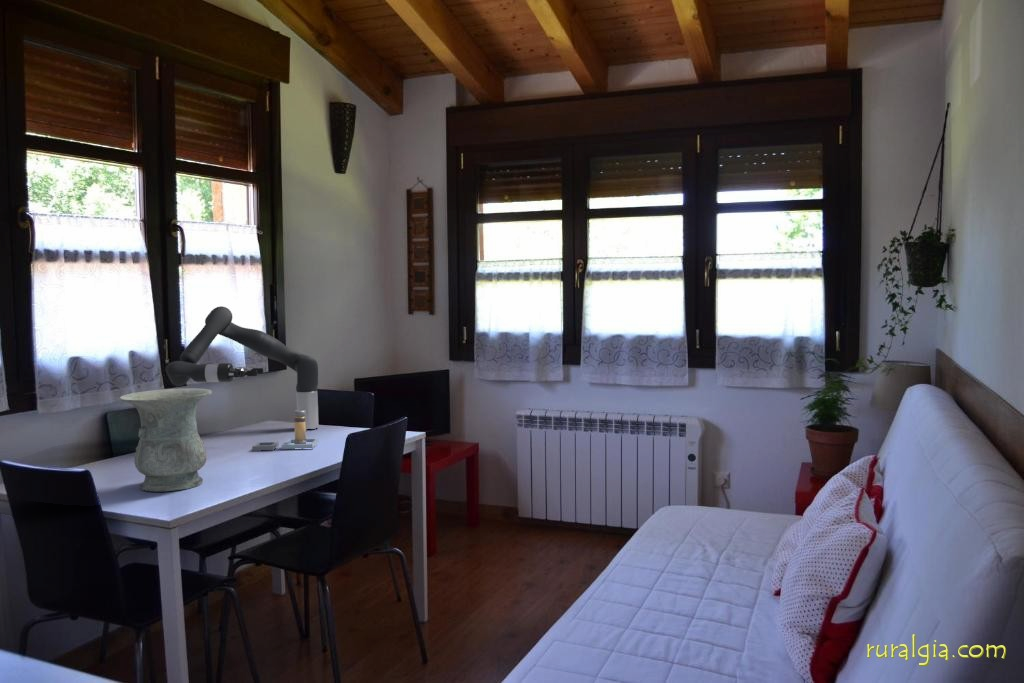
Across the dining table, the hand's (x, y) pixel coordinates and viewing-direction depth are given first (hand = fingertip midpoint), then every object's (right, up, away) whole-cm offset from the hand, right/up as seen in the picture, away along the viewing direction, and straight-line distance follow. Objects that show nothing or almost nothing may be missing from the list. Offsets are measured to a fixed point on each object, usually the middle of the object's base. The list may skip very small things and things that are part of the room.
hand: (260, 371), depth 305 cm
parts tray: (+17, -30, -1) cm, 34 cm away
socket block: (+4, -30, -5) cm, 31 cm away
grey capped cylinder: (+17, -29, -1) cm, 34 cm away
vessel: (-9, -34, -60) cm, 70 cm away
